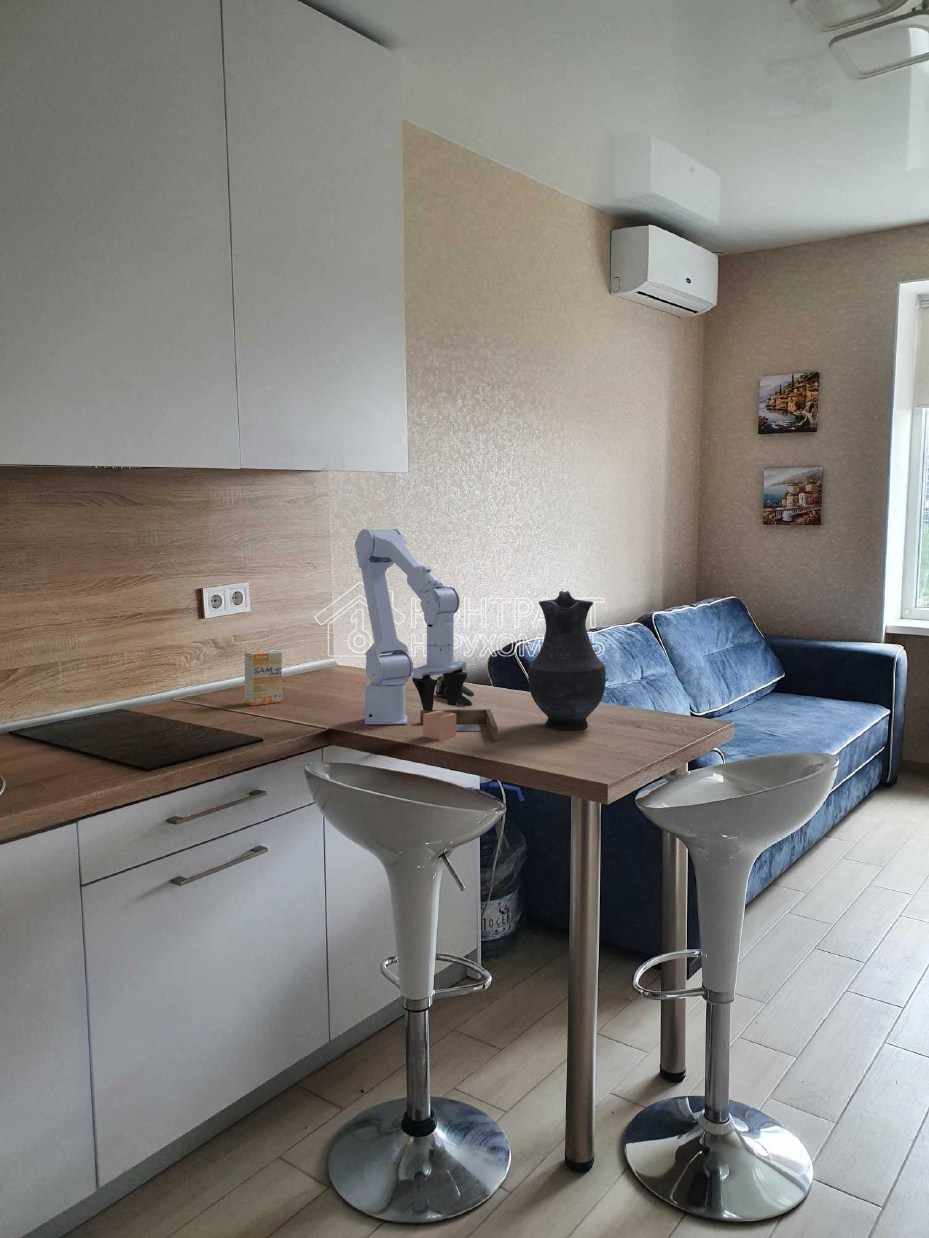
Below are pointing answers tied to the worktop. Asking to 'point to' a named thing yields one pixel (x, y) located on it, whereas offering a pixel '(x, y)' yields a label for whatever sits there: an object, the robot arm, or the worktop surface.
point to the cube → (439, 725)
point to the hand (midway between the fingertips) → (440, 707)
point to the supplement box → (263, 677)
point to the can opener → (442, 692)
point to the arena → (471, 720)
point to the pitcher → (566, 666)
